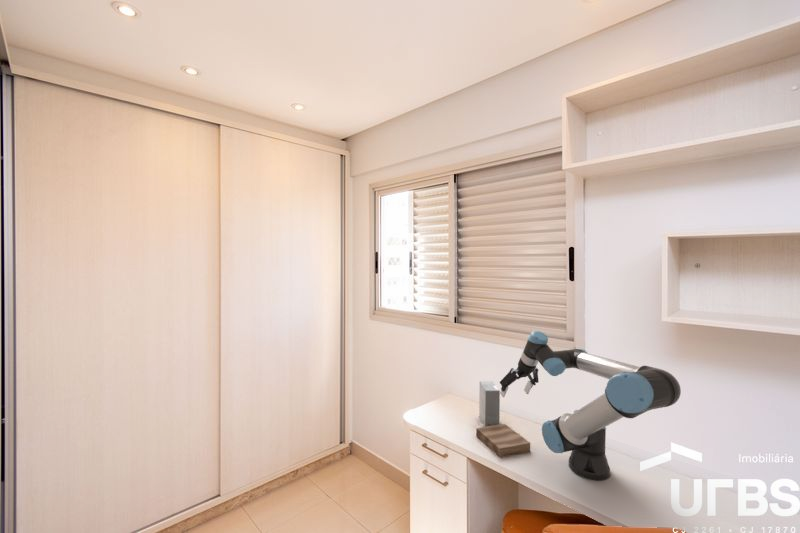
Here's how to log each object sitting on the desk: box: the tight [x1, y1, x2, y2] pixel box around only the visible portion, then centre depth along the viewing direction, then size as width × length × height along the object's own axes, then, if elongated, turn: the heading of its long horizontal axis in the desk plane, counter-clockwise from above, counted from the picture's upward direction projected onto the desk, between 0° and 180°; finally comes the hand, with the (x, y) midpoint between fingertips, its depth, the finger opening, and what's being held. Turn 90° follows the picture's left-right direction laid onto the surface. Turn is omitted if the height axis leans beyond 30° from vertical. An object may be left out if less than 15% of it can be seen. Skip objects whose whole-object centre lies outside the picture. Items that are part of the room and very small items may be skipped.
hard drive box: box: [478, 380, 501, 427], centre depth 189 cm, size 16×8×20 cm, turn 179°
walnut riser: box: [475, 423, 531, 458], centre depth 167 cm, size 20×16×4 cm
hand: (514, 393), depth 172 cm, fingers open, 13 cm apart
